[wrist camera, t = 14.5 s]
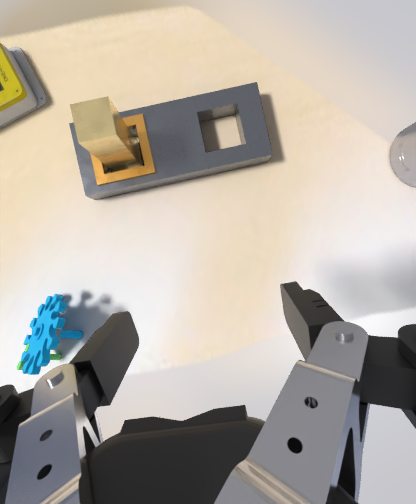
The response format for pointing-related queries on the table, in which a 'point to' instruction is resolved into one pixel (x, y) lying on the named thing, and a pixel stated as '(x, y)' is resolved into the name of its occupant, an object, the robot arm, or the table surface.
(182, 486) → the robot arm
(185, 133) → the peg board
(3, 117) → the emergency button
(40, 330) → the gear
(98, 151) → the brass peg
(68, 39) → the table surface
